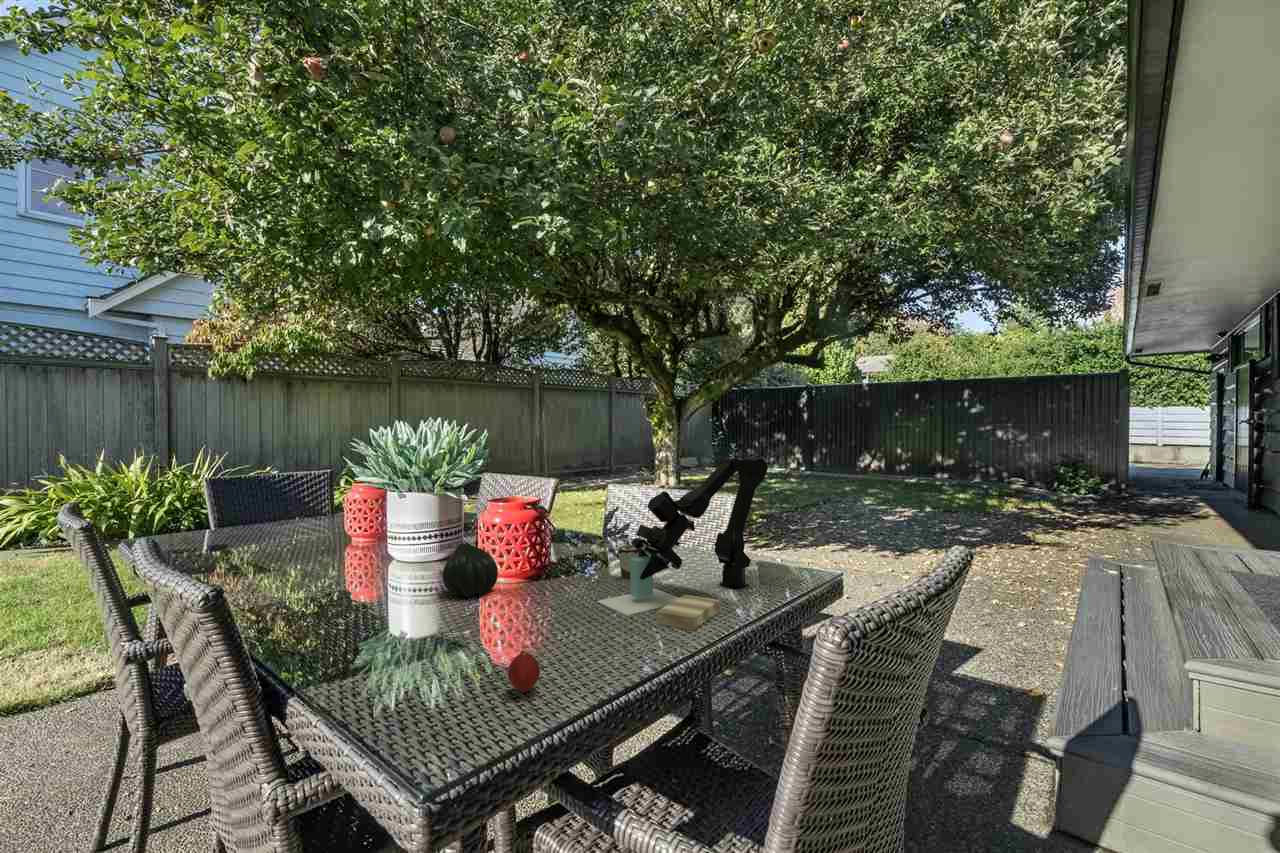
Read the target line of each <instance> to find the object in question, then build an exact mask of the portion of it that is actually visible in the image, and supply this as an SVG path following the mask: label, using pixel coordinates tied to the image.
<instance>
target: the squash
mask: <svg viewBox="0 0 1280 853" xmlns="http://www.w3.org/2000/svg"><path fill="white" fill-rule="evenodd" d="M498 575H499V572H498V566H497V563H496V561H495V559H494V558H493V556H492V555H491V554H490V553H489V552H487V551H486V550H484V549H482V548H479V547H477V546H474V545H473V544H472V545H471V544H468V543H462V542H461V543H459V544H458V545H457V546H456V548H455V550H454V551H453V553H452V554H451V555H450V557H449V559H448V561H447V562H446V563H445V566H444V567H443V571H442V582H443V585H444V587H445V588H446V590H448V591H449V592H450V593H452V594H453V595H455V597H458V598H460V597H461V596H463V597H466V598H471V597H473V596H475V594H482V593H487V592H488V591H491V589H493V588H494V587H495V586H496V583H497V581H498ZM486 591H487V592H486ZM461 598H462V597H461Z"/></svg>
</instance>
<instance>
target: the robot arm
mask: <svg viewBox="0 0 1280 853" xmlns="http://www.w3.org/2000/svg"><path fill="white" fill-rule="evenodd" d="M768 469H769V465H768V464H767V461H766V460H765V459H764V458H761V457H753V456H745V457H744V458H742V459H738V458H735V457H726V458H724V459H723V460H722V462H721V464H720V465H718V467H716V468H715V470H714V471H713V472H712V473H711V474H709V476H708V477H707V478H706V479H705V480H704V481H703V482H702V483H701V484H700V485H699V486H698V487H697V488H694V489H692V490H689V491H688V492H686V493H685V494H684V495H682V496H681V497H680V498H679V499H678V500H677V499H676V500H674V499H673V498H672V497H671V495H670V494H669V493H668V492H667V491H664V490H663V491H661V492H660V493H659V494H656V495H655V496H654V497H652V498H651V499H650V500H649V501H648V503H647V509H648V510H649V511H650V512H651V513H652V514H653V515H654V516H655V518H657V519H658V521H659V522H660V523H665V524H664V525H663V526H662V527H658V526H656V525H653V526H652V527H650V526H649V527H648V526H645V525H643V524H639V526H638V530H637V532H636V533H635V534H636V536H637V537H634V539H633V540H632V541H631V543H630V545H633V546H634V547H635V548H636V549H637V550H638V554H639V556H638V557H644V556H647V557H649V558H650V561H649V563H648V564H647V566H646V568H645V569H644V571H643V572H642V574H641V576H640V579H641V580H644V579H646V578H648V577H650V576H651V575H653V576H654V575H655V574H657V573H659V572H662V571H664V570H666V569H667V570H668V569H669V568H670V567H669V566H668V565H670V564H671V567H672V568H673V569H675V570H678V571H679V569H680V568H681V567H682V565H683V559H682V557H680V555H678V554H677V552H675V551H674V549H673V548H674V547H679V546H680V544H681V543H680V542H679V540H680V539H681V538H682V536H683V535H684V533H685V532H686V531H687V530H689V531H692V532H695V531H696V528H695V521H694V520H690V519H689V518H696V519H698V518H701V517H702V516H703V515H704V514H705V513H706V511H707V509H708V508H709V506H710V504H711V503H710V502H711V500H712V498H713V497H714V496H715V495H716V494H717V492H719V491H720V489H722V488H723V486H724V485H725V484H726V483H727V482H728V481H729V480H730V479H731V478H732V477H733V476H734V475H735V474H736V473H737V475H738V481H739V487H738V489H737V492H736V493H737V494H736V496H735V500H734V503H733V506H732V508H731V509H732V510H731V513H730V517H729V521H728V523H727V527H726V529H725V530H724V531H723V532H722V533H721V532H718V533H717V535H716V540H715V542H714V544H713V546H714V553H715V556H716V557H717V559H718V563H719V564H723V565H722V576H721V577H722V578H721V579H722V581H720V582H719V583H718V584H719V585H720V586H723V587H726V588H730V589H732V590H736V589H740V588H741V589H742V588H744V587H749V586H750V584H749V583H748V582H746V568H749V567H750V565H751V562H752V560H751V558H750V557H749V556H748V555H747V554H746V553H745V546H746V544H745V540H744V539H745V538H744V530H745V527H746V525H747V524H746V523H747V520H748V516H749V514H750V511H751V506H752V503H753V500H754V496H755V494H756V493H755V492H756V489H757V488H758V487H759V485H761V483H762V482H763V481H764V479H765V477H766V475H767V473H768ZM688 517H689V518H688Z"/></svg>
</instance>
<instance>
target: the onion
mask: <svg viewBox="0 0 1280 853" xmlns="http://www.w3.org/2000/svg"><path fill="white" fill-rule="evenodd" d="M540 674H541V669H540V665H539V662H538V660H537V658H535V657H534V656H533V654H531V653H529V652H528V651H527V650H526V649H522V650H521V651H520V652H519V654H517V655H516V656H515V657H514V658H513V659H512V660H511V661H510V663H509V667H508V671H507V677H508V681H509V683H510V684H511V686H513V687H514V688H515V689H517V690H519V691H520V692H521V693H526V692H528V691H529V690H530V689H532V688H534V686H535V685H536V684H537V682H538V681H539V678H540Z"/></svg>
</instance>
